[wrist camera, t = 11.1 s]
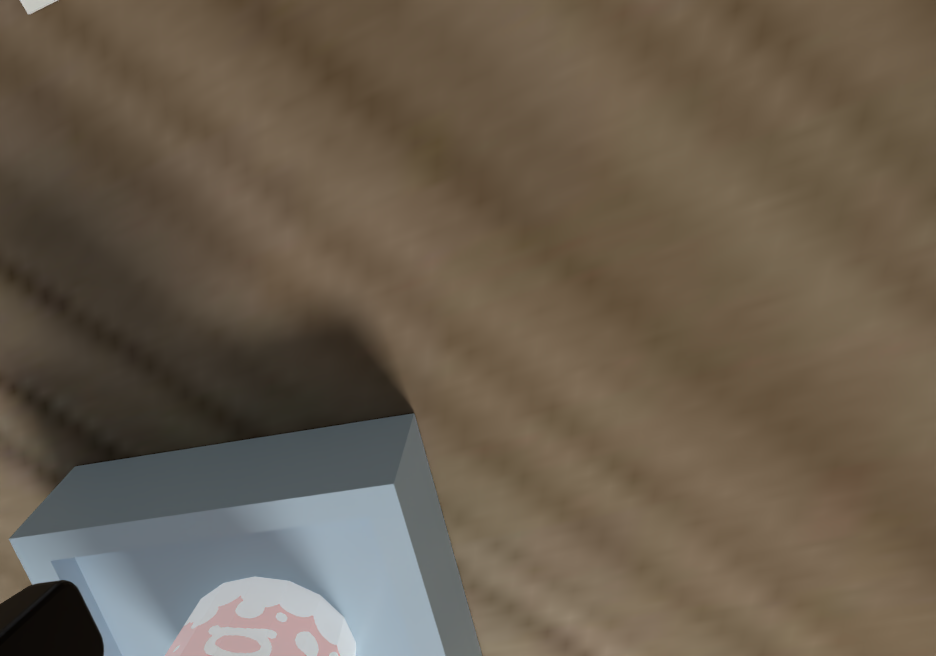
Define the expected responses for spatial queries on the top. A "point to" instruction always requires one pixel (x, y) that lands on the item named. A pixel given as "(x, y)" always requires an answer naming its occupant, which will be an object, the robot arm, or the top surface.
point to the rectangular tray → (260, 536)
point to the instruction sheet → (35, 5)
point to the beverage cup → (263, 623)
